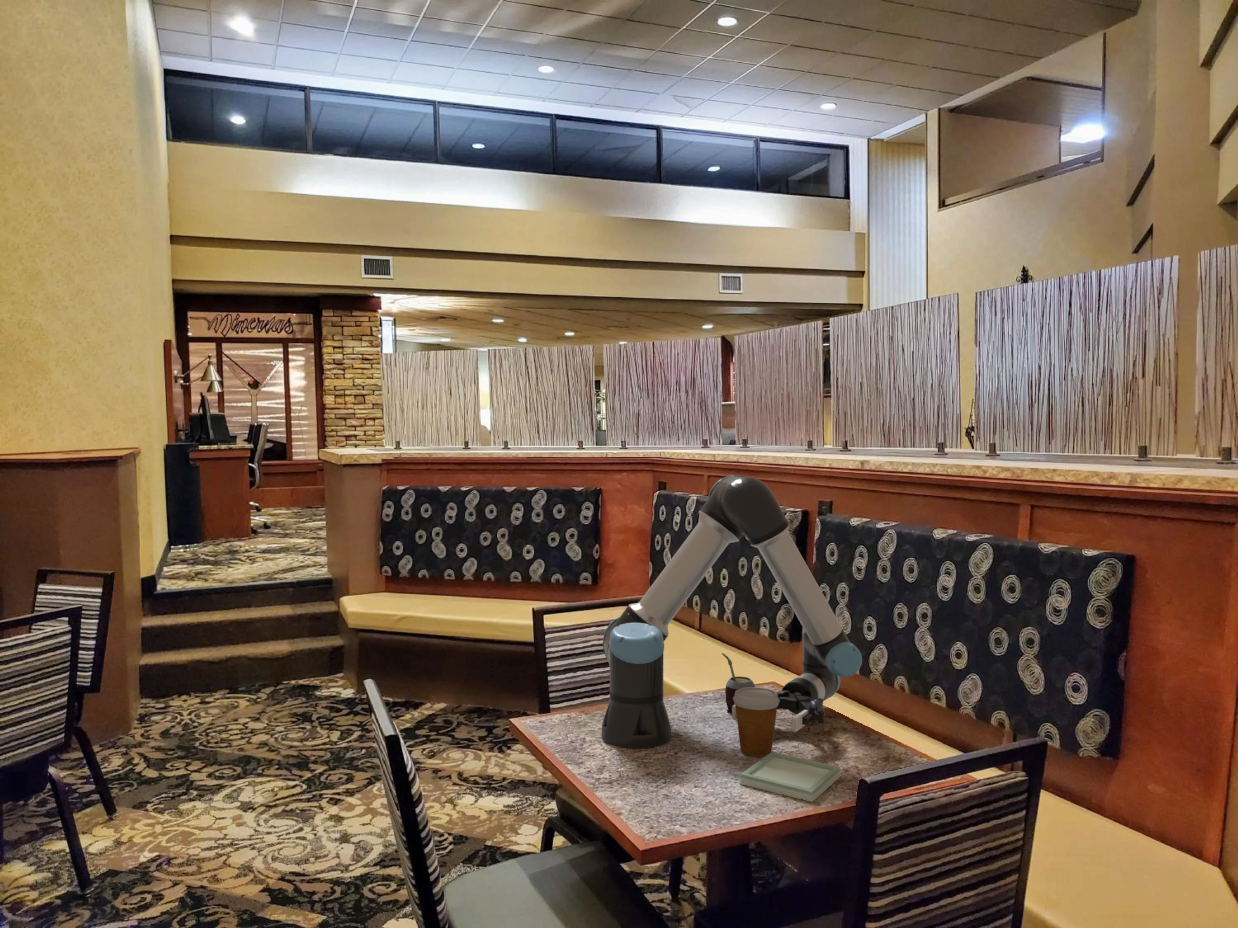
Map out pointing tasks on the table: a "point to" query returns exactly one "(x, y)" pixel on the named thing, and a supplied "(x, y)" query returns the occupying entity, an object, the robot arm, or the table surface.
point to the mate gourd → (735, 686)
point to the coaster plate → (790, 776)
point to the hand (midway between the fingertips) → (763, 718)
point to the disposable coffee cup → (756, 719)
